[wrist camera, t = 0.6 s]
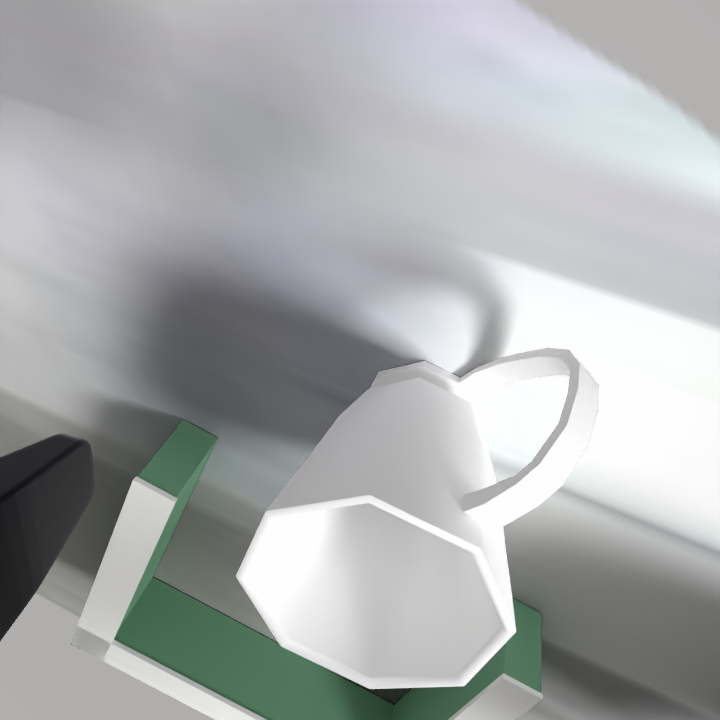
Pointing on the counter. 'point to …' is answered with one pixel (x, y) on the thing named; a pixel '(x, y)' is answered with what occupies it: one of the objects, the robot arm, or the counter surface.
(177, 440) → the pocket
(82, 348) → the counter surface
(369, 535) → the cup
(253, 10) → the counter surface
